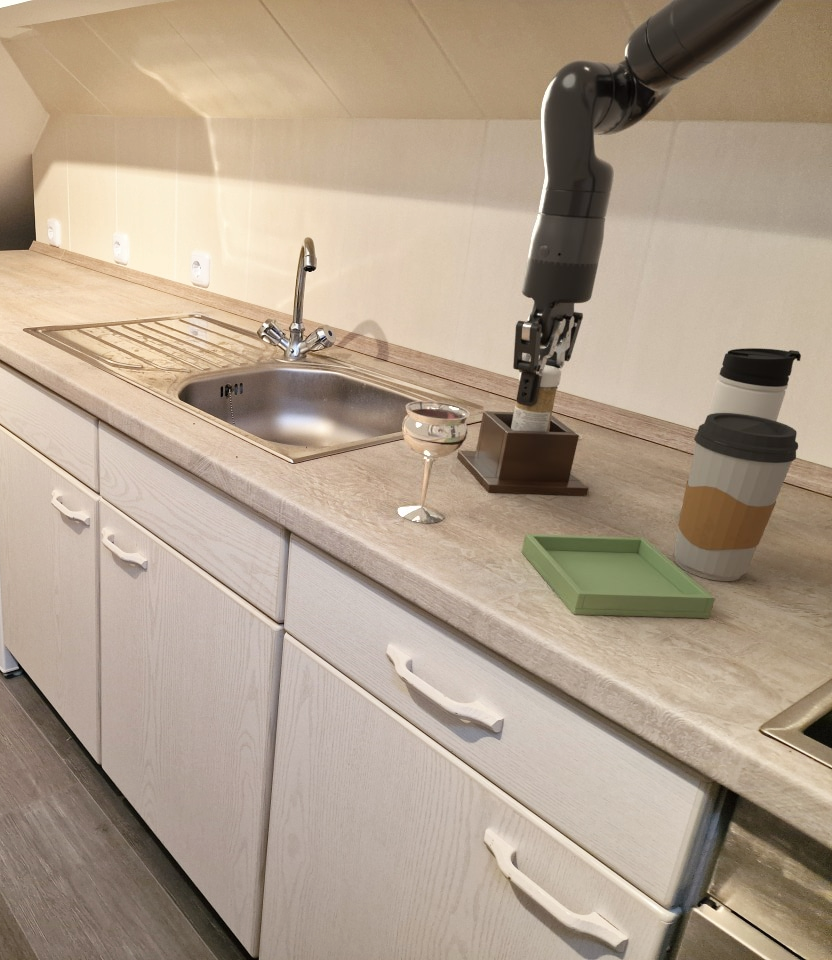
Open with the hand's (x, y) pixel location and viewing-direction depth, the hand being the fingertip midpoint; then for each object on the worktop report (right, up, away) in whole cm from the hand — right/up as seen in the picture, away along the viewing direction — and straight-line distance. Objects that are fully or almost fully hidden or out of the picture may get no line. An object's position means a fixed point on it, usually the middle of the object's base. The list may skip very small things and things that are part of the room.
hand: (535, 400), depth 103 cm
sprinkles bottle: (0, -9, +4) cm, 10 cm away
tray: (-2, -20, -22) cm, 30 cm away
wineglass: (-16, -14, -9) cm, 23 cm away
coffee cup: (+10, -19, -18) cm, 28 cm away
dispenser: (0, -9, +4) cm, 10 cm away
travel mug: (+17, -15, -8) cm, 24 cm away
